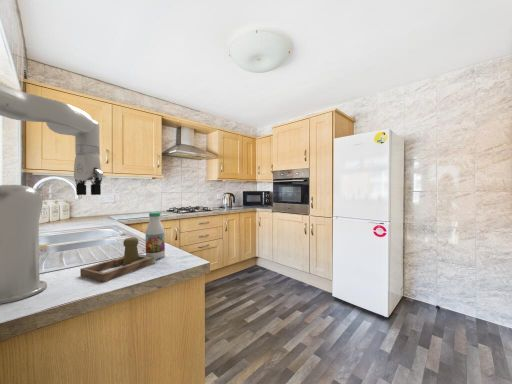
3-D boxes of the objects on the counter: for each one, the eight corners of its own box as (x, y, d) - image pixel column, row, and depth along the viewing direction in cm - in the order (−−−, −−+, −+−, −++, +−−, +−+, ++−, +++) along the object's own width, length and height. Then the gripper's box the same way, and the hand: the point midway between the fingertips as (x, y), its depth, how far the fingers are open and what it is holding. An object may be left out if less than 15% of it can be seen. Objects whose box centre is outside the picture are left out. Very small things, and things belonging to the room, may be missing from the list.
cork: (143, 264, 86) (142, 237, 86) (127, 269, 81) (126, 240, 81) (135, 261, 89) (134, 235, 89) (119, 266, 84) (119, 238, 84)
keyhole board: (103, 282, 69) (103, 274, 69) (80, 275, 75) (80, 268, 75) (155, 262, 88) (155, 256, 87) (133, 259, 93) (133, 253, 93)
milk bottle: (143, 257, 96) (143, 212, 96) (161, 253, 101) (160, 211, 101) (148, 261, 90) (148, 213, 90) (167, 257, 95) (166, 212, 95)
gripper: (64, 151, 84) (65, 195, 84) (89, 147, 77) (90, 195, 77) (86, 154, 91) (86, 194, 91) (111, 151, 84) (112, 194, 84)
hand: (88, 194), depth 84 cm, fingers open, 9 cm apart
